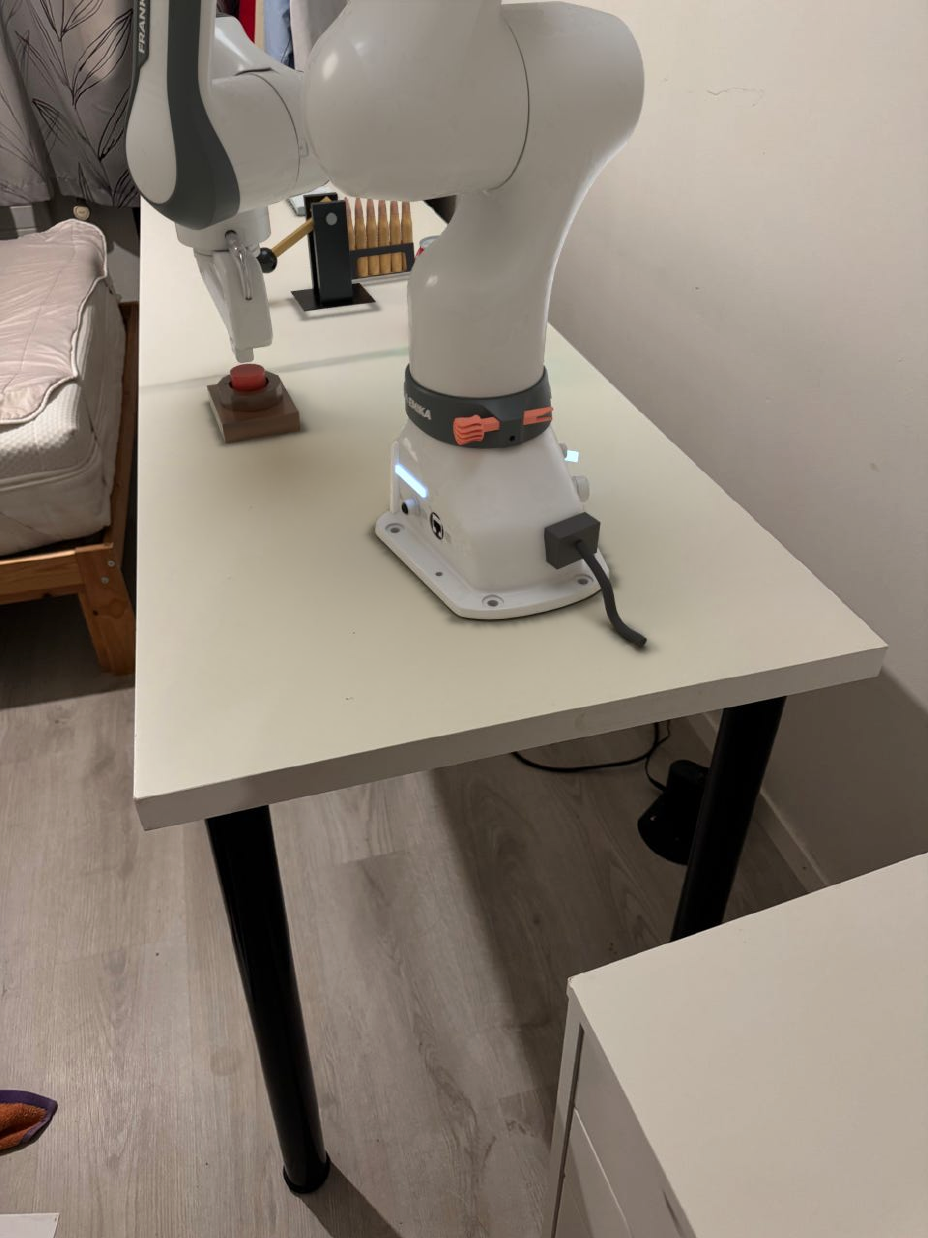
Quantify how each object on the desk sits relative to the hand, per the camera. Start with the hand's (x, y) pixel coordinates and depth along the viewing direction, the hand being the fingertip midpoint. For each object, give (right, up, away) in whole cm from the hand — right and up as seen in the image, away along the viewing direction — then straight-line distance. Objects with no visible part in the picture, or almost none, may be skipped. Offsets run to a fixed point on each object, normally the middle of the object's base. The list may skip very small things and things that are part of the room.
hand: (243, 357), depth 94 cm
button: (0, -2, +2) cm, 3 cm away
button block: (0, -5, +4) cm, 7 cm away
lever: (+2, +22, +25) cm, 33 cm away
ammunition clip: (+11, +22, +38) cm, 46 cm away
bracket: (+5, +16, +31) cm, 35 cm away
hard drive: (-4, +48, +70) cm, 85 cm away
